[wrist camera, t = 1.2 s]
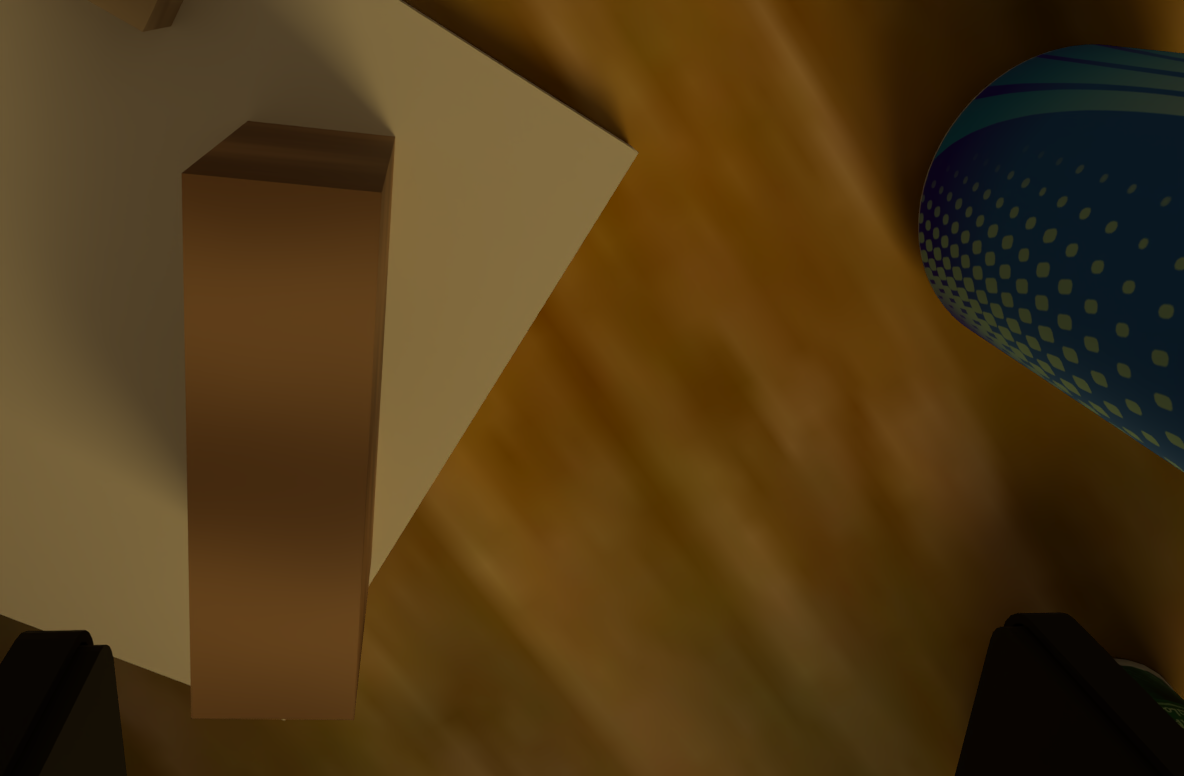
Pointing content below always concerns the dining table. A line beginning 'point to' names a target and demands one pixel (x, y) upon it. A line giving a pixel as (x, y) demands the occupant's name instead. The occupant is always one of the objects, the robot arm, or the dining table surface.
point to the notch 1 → (142, 12)
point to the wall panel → (155, 267)
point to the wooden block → (282, 414)
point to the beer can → (1072, 230)
